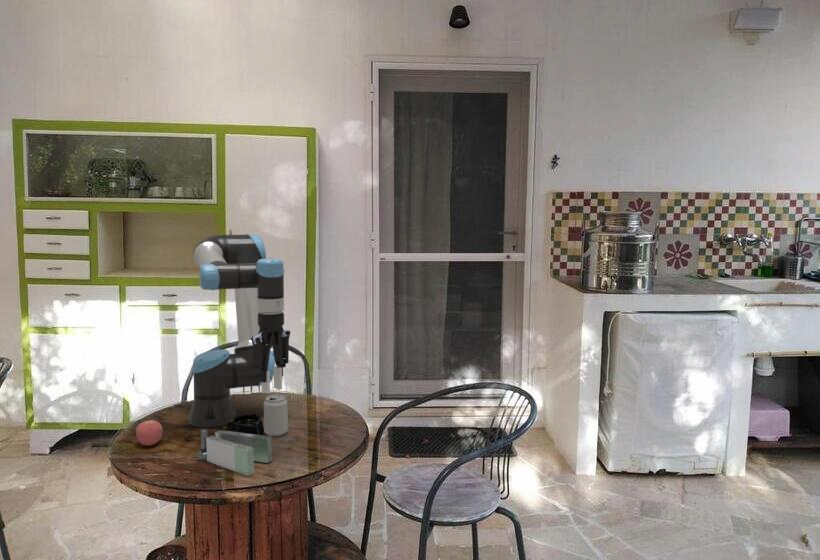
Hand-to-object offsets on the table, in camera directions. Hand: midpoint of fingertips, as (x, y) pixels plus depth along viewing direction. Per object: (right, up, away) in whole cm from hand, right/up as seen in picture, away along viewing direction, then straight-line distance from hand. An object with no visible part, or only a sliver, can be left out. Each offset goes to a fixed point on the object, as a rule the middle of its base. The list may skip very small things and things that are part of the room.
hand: (271, 390), depth 181 cm
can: (-3, -17, +17) cm, 24 cm away
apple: (-39, -18, +6) cm, 43 cm away
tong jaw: (-7, -19, -4) cm, 21 cm away
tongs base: (-11, -20, -8) cm, 24 cm away
